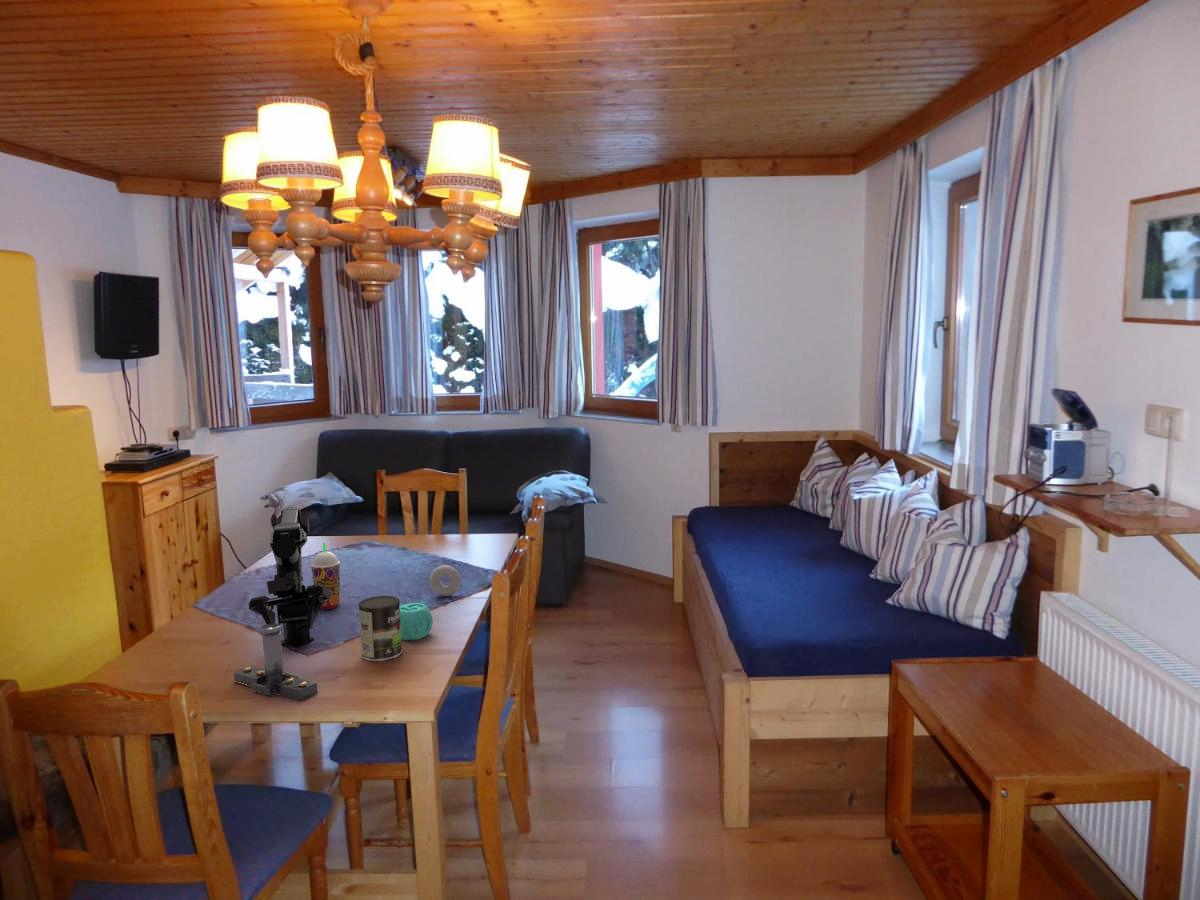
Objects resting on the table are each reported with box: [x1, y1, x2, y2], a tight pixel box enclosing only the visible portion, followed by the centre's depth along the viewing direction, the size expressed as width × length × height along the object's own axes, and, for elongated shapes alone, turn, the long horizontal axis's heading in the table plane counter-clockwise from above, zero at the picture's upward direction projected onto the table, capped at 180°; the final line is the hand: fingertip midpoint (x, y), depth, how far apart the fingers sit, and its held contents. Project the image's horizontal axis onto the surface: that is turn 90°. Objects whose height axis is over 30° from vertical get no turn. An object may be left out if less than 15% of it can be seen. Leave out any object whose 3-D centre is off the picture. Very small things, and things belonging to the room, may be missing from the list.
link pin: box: [259, 623, 285, 692], centre depth 198 cm, size 5×5×15 cm
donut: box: [429, 564, 462, 597], centre depth 264 cm, size 10×4×10 cm, turn 83°
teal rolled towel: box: [400, 602, 434, 641], centre depth 231 cm, size 8×8×8 cm
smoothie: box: [310, 542, 341, 610], centre depth 256 cm, size 8×8×20 cm
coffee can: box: [358, 595, 403, 662], centre depth 217 cm, size 10×10×14 cm
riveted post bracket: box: [233, 664, 318, 702], centre depth 199 cm, size 22×8×3 cm, turn 61°
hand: (291, 632), depth 207 cm, fingers open, 9 cm apart
